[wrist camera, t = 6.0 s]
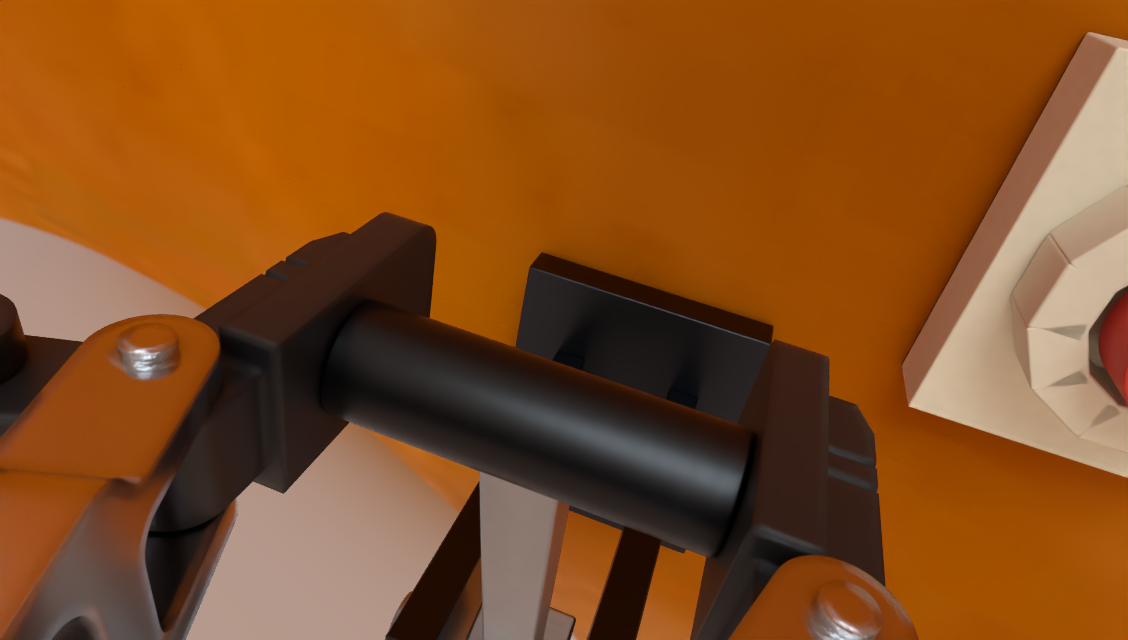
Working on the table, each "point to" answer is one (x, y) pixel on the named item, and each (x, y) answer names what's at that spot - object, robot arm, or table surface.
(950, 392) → the control block
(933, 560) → the table surface
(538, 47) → the table surface
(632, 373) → the bracket
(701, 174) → the table surface
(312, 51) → the table surface
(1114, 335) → the button
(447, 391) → the lever
